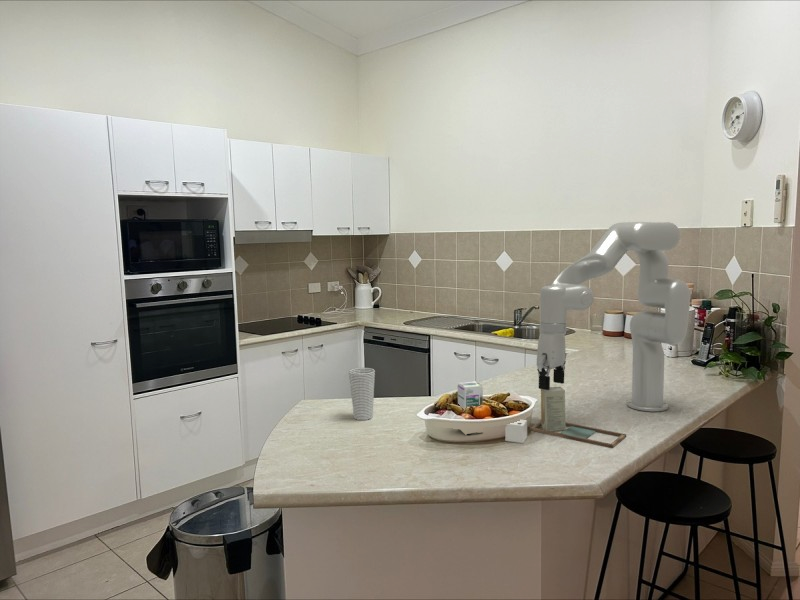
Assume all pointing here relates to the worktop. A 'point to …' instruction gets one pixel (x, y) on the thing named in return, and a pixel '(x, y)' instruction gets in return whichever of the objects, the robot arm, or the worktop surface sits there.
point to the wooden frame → (581, 434)
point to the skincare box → (553, 409)
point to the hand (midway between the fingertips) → (551, 386)
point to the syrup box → (470, 394)
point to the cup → (362, 392)
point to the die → (516, 431)
